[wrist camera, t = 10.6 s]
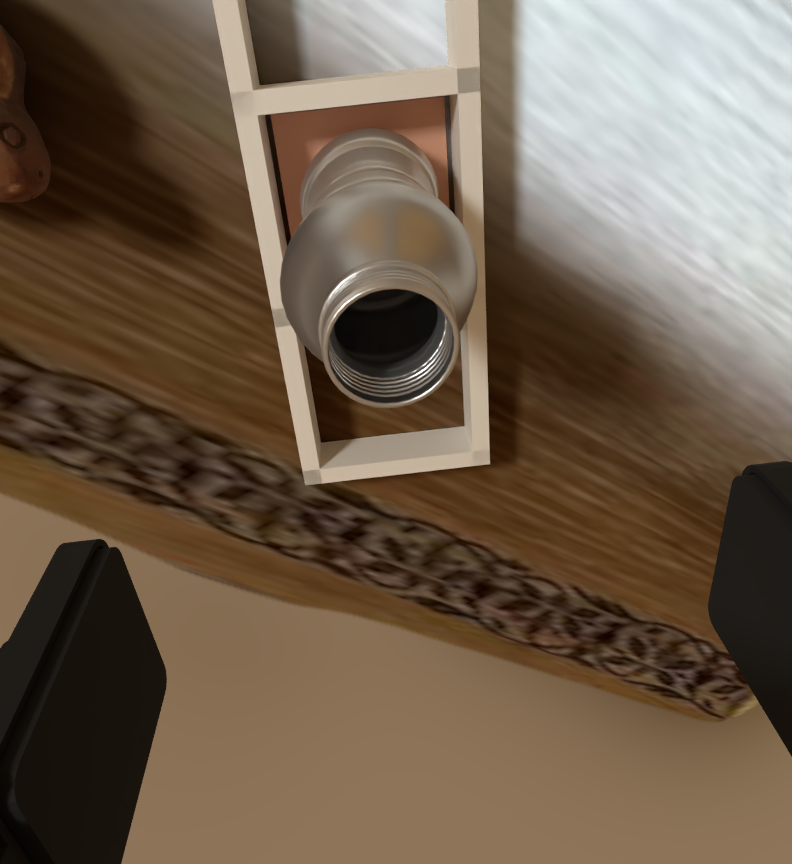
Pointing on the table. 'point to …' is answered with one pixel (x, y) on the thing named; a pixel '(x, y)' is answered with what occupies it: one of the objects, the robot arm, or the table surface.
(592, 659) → the table surface
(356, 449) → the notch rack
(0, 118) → the decorative turtle
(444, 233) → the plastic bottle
